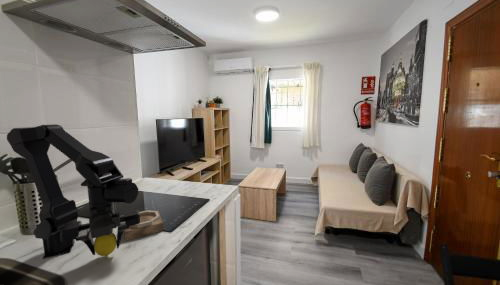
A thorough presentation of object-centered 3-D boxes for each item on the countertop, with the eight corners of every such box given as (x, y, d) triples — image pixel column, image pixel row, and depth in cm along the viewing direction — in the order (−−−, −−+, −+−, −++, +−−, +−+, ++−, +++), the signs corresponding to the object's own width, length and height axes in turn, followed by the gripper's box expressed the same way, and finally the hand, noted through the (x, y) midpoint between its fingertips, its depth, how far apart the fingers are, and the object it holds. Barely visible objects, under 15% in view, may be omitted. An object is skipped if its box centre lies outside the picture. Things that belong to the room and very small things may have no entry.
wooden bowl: (125, 240, 73) (124, 228, 72) (124, 225, 83) (124, 214, 83) (163, 230, 79) (162, 219, 78) (158, 217, 89) (157, 207, 89)
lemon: (113, 248, 68) (111, 224, 67) (120, 255, 65) (118, 230, 64) (92, 257, 64) (90, 231, 63) (99, 265, 60) (96, 238, 59)
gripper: (50, 220, 51) (58, 281, 53) (139, 202, 60) (143, 255, 62) (61, 204, 60) (68, 256, 62) (136, 191, 70) (140, 236, 72)
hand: (106, 251), depth 64 cm, fingers closed on lemon, 5 cm apart
